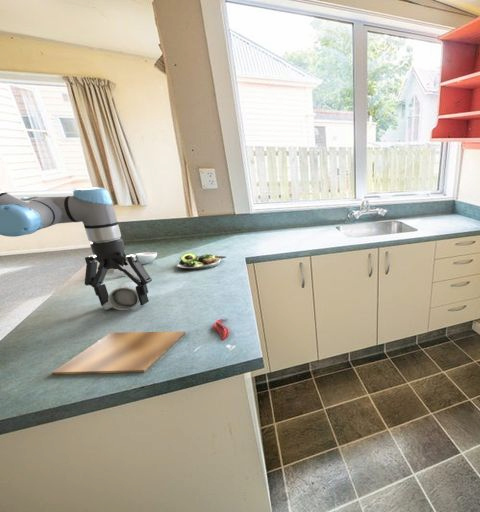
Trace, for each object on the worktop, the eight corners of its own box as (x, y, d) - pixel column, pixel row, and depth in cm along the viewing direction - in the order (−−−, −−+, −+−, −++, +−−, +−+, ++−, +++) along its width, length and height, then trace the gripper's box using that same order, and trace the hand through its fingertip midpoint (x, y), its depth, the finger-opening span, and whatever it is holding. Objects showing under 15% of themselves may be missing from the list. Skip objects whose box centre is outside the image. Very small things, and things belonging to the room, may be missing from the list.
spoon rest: (135, 259, 142) (131, 245, 139) (163, 257, 144) (159, 243, 142) (104, 277, 120) (99, 261, 118) (138, 275, 123) (134, 259, 120)
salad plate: (227, 255, 149) (226, 246, 147) (227, 266, 134) (225, 256, 132) (182, 260, 141) (180, 251, 139) (176, 273, 125) (173, 262, 124)
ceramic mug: (147, 297, 103) (141, 277, 101) (141, 307, 96) (135, 286, 94) (108, 304, 99) (101, 283, 96) (99, 315, 92) (91, 292, 89)
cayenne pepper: (214, 321, 89) (213, 315, 88) (231, 318, 90) (230, 312, 90) (208, 343, 78) (207, 336, 77) (227, 339, 80) (226, 333, 79)
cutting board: (52, 374, 66) (51, 372, 66) (111, 334, 81) (110, 332, 81) (144, 372, 67) (144, 370, 67) (185, 333, 82) (185, 331, 82)
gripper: (154, 236, 94) (170, 297, 101) (76, 237, 93) (97, 299, 100) (137, 242, 87) (155, 308, 94) (52, 243, 86) (76, 310, 93)
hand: (125, 303), depth 97 cm, fingers closed on ceramic mug, 11 cm apart
